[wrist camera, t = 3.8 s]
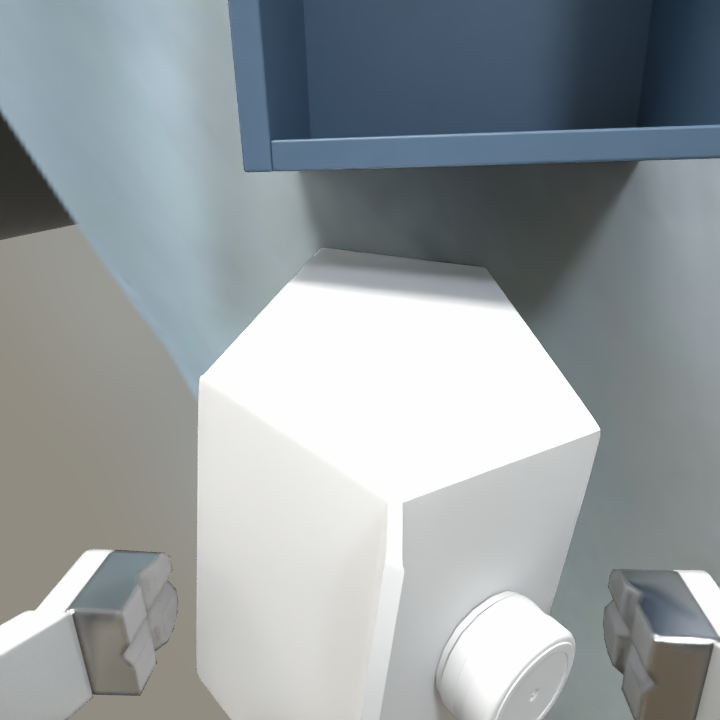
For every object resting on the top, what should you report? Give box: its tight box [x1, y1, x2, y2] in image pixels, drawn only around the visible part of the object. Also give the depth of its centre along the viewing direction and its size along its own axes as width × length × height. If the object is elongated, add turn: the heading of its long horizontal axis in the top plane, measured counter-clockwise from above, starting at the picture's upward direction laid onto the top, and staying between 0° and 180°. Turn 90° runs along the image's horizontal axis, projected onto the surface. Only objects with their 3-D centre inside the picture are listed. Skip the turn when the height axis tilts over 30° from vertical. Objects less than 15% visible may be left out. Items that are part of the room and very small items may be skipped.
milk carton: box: [196, 248, 600, 720], centre depth 16 cm, size 7×7×19 cm
